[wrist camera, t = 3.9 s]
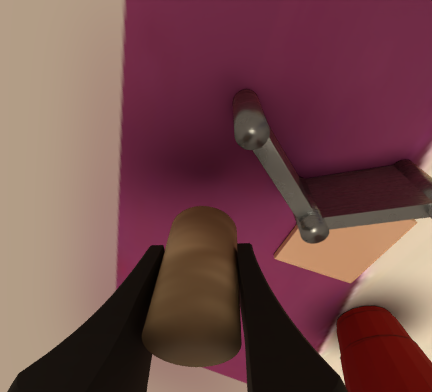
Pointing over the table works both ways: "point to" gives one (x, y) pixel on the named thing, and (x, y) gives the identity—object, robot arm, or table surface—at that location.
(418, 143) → the table surface
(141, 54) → the table surface
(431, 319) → the table surface
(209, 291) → the oak dowel
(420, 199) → the bent rail
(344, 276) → the coaster
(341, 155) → the table surface
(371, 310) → the plastic cup
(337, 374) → the robot arm
